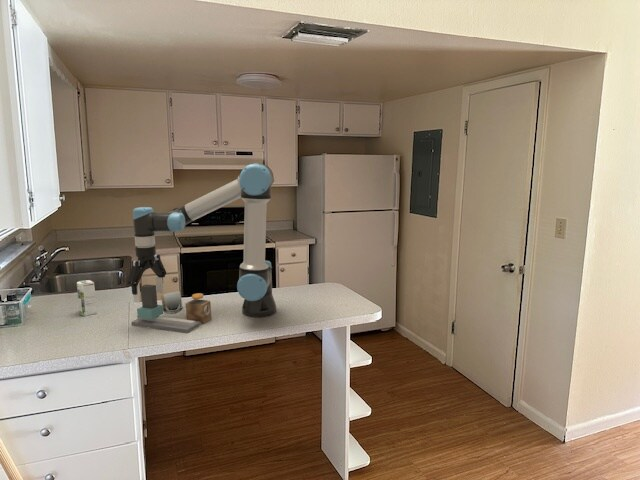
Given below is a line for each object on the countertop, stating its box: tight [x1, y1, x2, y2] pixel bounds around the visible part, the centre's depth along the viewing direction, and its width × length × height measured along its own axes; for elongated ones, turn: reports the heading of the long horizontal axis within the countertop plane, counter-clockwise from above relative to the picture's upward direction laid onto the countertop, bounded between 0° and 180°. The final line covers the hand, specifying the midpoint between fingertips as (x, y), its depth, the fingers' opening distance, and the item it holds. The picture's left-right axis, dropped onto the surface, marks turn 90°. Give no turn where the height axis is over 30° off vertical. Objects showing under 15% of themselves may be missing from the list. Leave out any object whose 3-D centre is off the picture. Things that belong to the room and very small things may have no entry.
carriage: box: [136, 284, 164, 319], centre depth 181 cm, size 7×7×13 cm
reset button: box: [191, 292, 204, 300], centre depth 184 cm, size 4×4×1 cm
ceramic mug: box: [161, 290, 183, 313], centre depth 199 cm, size 11×8×8 cm
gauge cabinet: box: [185, 299, 212, 325], centre depth 185 cm, size 9×6×8 cm
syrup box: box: [76, 279, 98, 317], centre depth 194 cm, size 6×6×14 cm
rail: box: [131, 314, 202, 334], centre depth 180 cm, size 27×9×3 cm, turn 70°
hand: (148, 297), depth 181 cm, fingers open, 13 cm apart
